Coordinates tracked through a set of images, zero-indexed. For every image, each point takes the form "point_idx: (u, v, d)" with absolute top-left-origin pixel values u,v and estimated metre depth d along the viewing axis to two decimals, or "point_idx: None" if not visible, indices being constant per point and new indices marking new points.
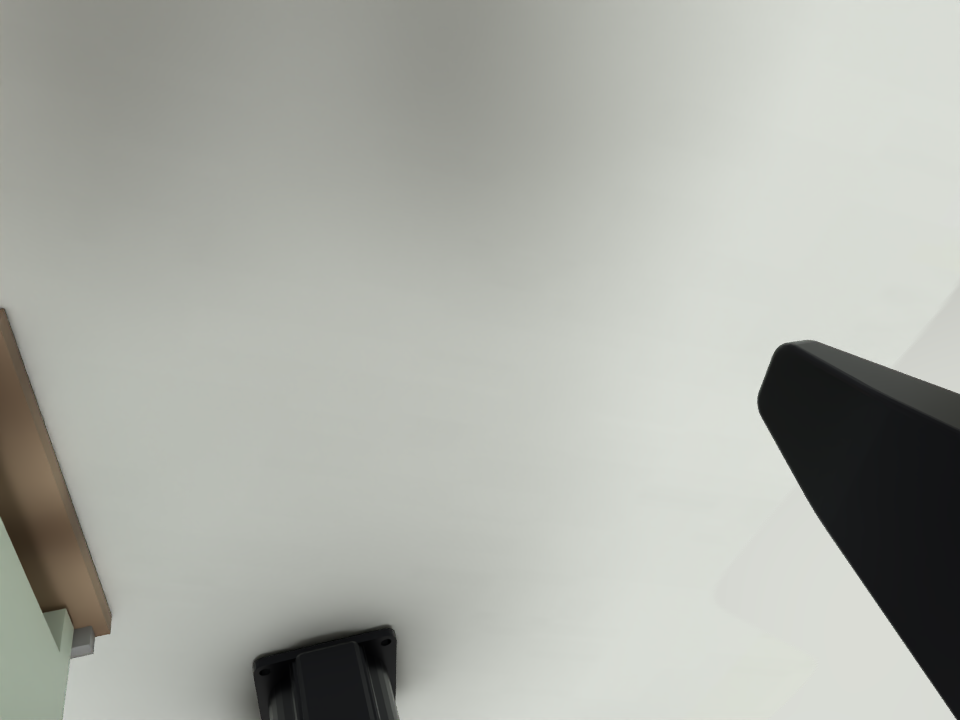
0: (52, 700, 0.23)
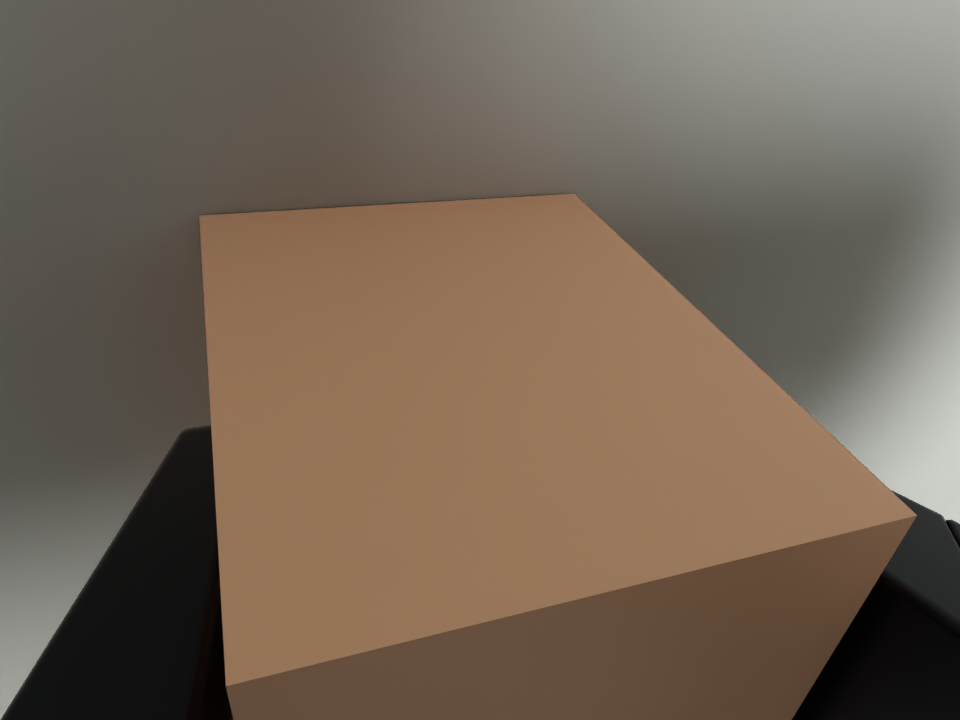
0: None
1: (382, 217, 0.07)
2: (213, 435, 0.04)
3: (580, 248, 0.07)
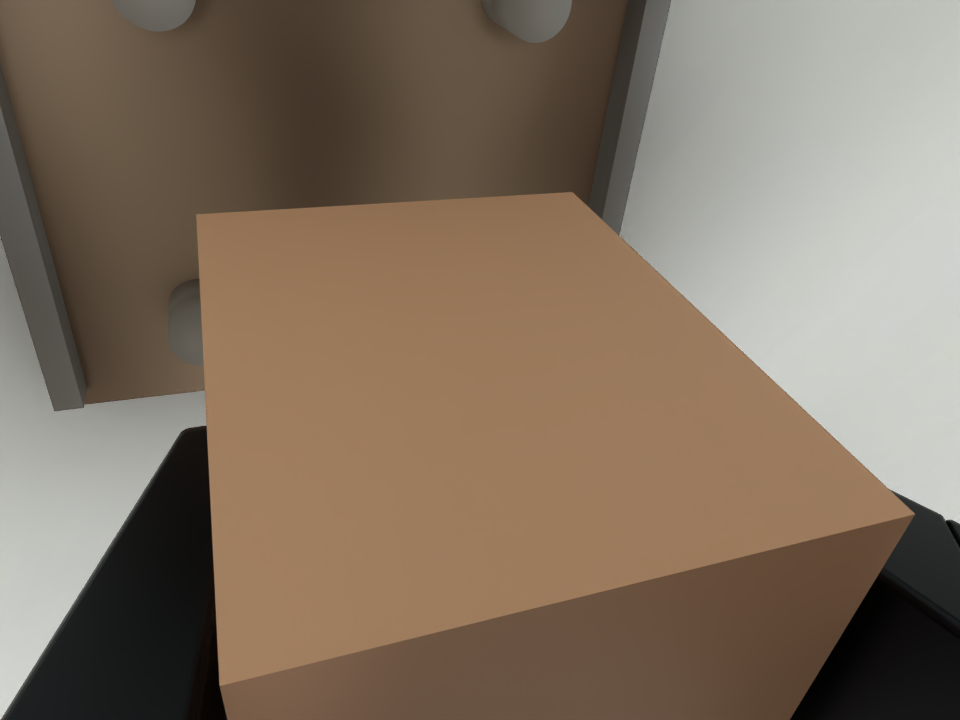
0: None
1: (379, 215, 0.07)
2: (209, 434, 0.04)
3: (578, 247, 0.07)
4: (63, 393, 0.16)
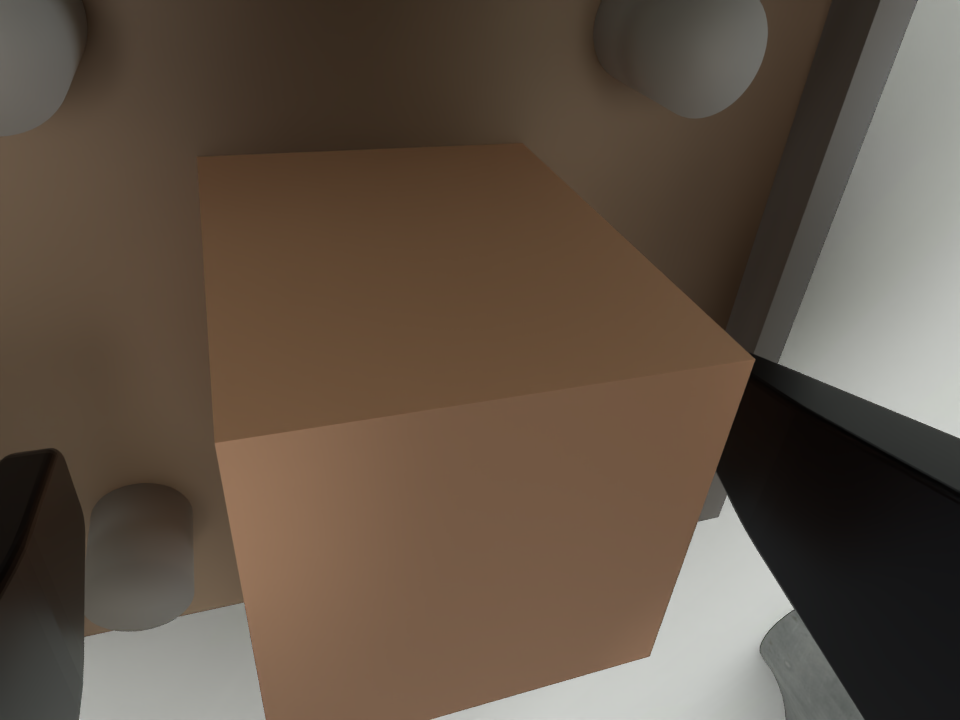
0: None
1: (353, 158, 0.09)
2: (207, 302, 0.06)
3: (520, 183, 0.08)
4: None
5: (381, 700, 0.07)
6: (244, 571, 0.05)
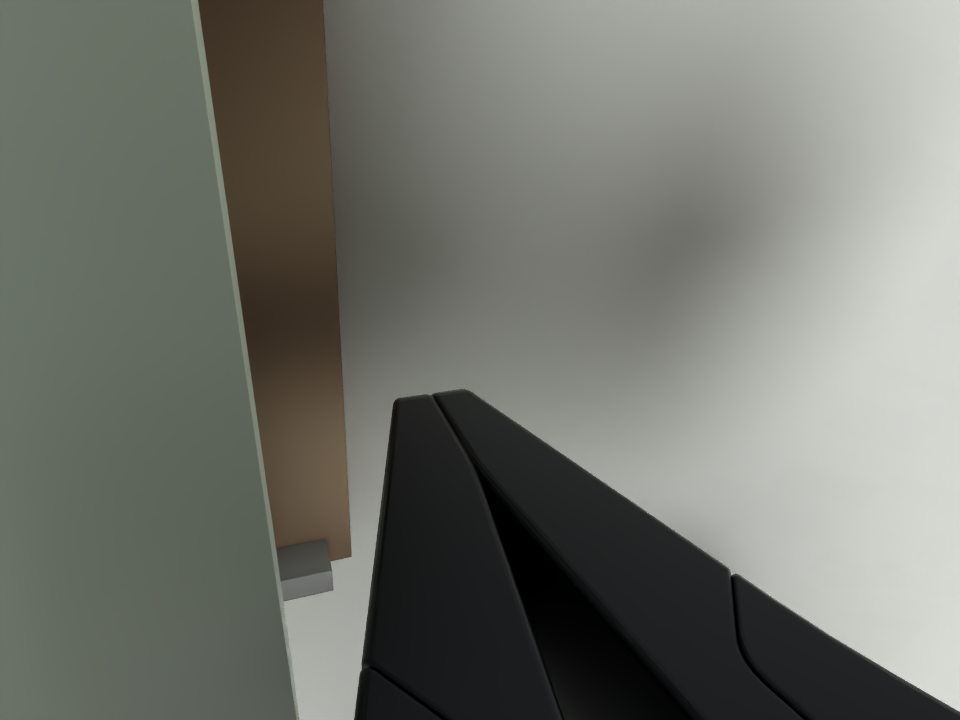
0: (293, 679, 0.10)
1: None
2: None
3: None
4: None
5: None
6: None
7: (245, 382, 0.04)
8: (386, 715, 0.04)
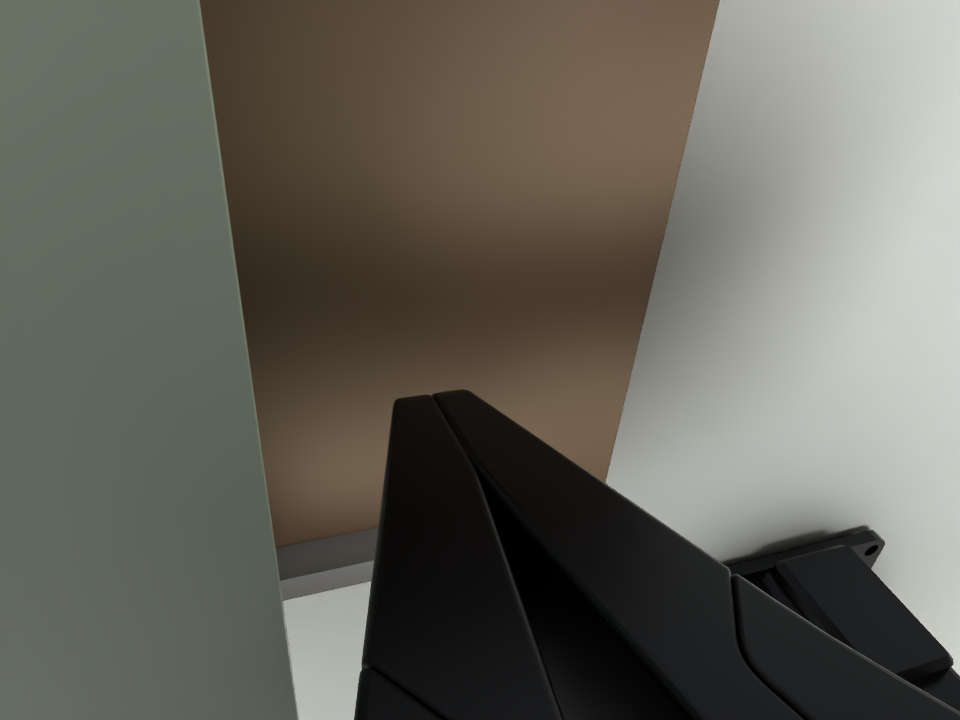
0: None
1: None
2: None
3: None
4: None
5: None
6: None
7: (249, 379, 0.04)
8: (386, 715, 0.04)
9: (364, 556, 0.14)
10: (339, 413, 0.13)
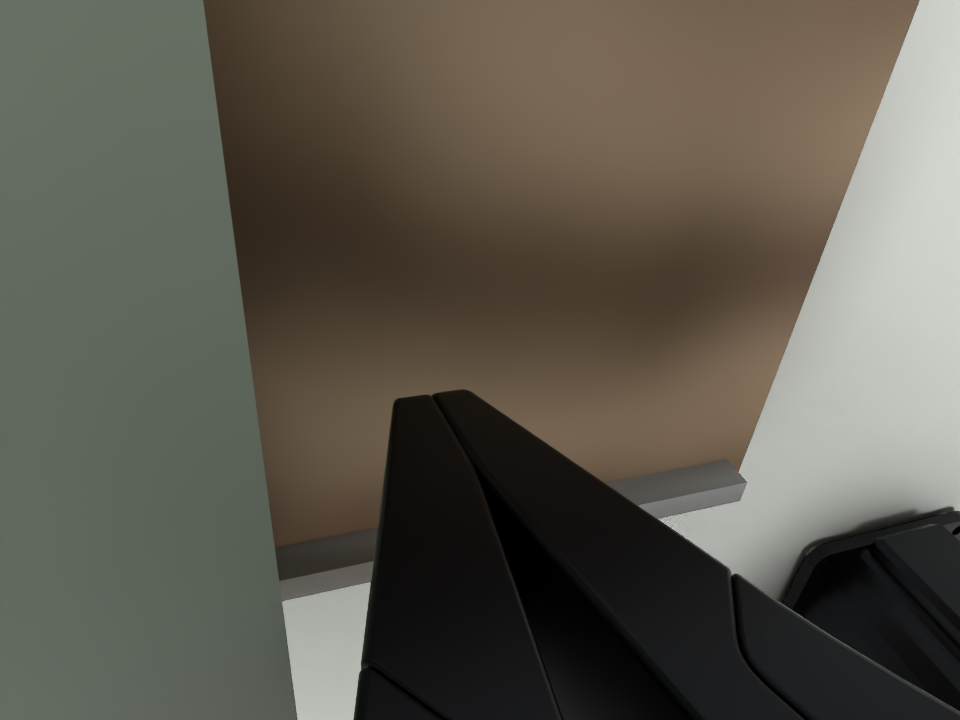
0: None
1: None
2: None
3: None
4: None
5: None
6: None
7: (251, 378, 0.04)
8: (385, 715, 0.04)
9: None
10: (536, 385, 0.14)
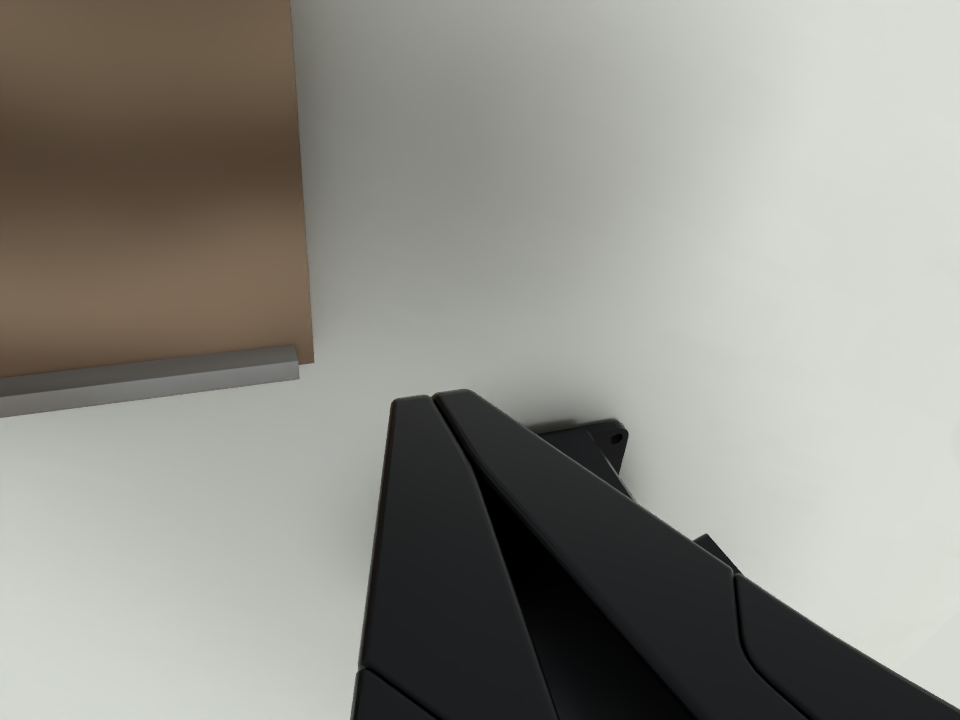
0: None
1: None
2: None
3: None
4: None
5: None
6: None
7: None
8: (381, 716, 0.04)
9: (84, 383, 0.18)
10: (41, 256, 0.16)
